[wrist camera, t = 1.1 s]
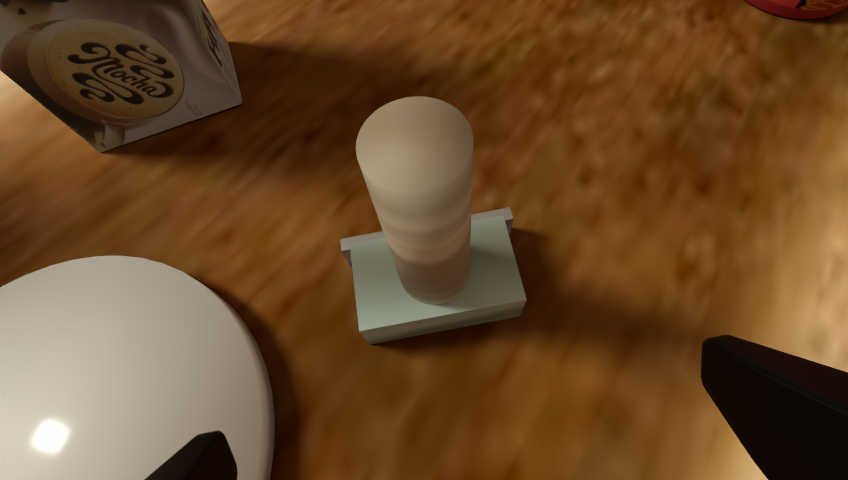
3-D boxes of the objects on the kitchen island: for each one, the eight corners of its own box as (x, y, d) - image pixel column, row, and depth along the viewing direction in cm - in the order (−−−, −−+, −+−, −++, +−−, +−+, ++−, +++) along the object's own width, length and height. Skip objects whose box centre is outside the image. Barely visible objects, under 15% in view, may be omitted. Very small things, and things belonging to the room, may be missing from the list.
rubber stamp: (530, 314, 21) (594, 178, 11) (359, 346, 21) (260, 240, 11) (506, 226, 23) (540, 41, 13) (349, 256, 23) (258, 94, 13)
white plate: (335, 583, 17) (324, 594, 16) (-168, 862, 15) (-228, 901, 14) (217, 212, 25) (203, 198, 24) (-133, 364, 23) (-170, 358, 21)
